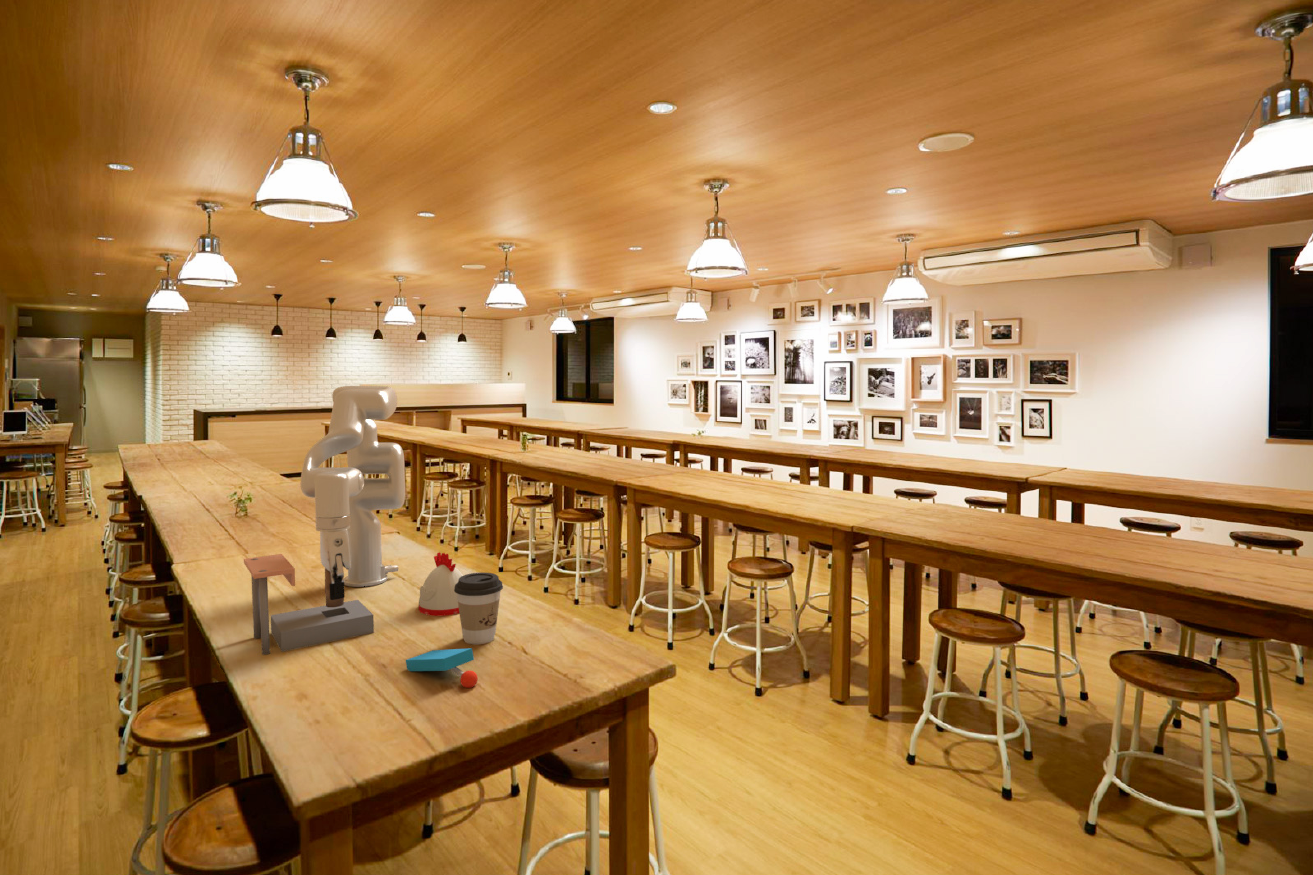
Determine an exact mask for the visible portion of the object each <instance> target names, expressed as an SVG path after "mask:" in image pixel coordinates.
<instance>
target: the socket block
mask: <svg viewBox="0 0 1313 875" xmlns="http://www.w3.org/2000/svg"><path fill="white" fill-rule="evenodd" d="M374 624H375V622H374V614H373V612H371V611H370V610H369V609H368V607H366V606H365V605H364V604H363V602H361V601H360V600H359V599H354V600H348V601H344V604H343V605H342V606H339V607H326V604H325V605H321V606H320V605H319V606H314V607H310V608H303V609H299V610H297V609H296V610H293V611H287V612H282V613H276V614H271V615H270V633H271V634H270V635H272V638H273V639H274V640H275V643H276V645H277V646H278V647H279V650H280V651H281V652H288V651H292V650H296V649H302V648H306V647H311V646H316V645H321V644H325V643H330V642H331V643H332V642H335V641H340V640H344V639H349V638H355V637H359V636H363V635H369V634H374V632H375V630H374V629H375V628H374Z"/></svg>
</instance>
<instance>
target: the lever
mask: <svg viewBox="0 0 1313 875" xmlns="http://www.w3.org/2000/svg"><path fill="white" fill-rule="evenodd" d="M473 652H474V651H473V648H469V647H468V648H455V649H454V648H453V649H449V648H448V649H432V650H430V651H428V652H425V653H422V654H421V653H420V654H419V655H416V656H413V657H411V658H407V659H405V665H406V670H407V671H409V672H436V671H437V672H439V671H441V672H442V671H443V672H445V671H448V670H449V671H451V672H452V673H453V674H455V675H456V676H458V677H459V678H460V684H461V686H463V688H466V689H470V688H473V687H475V686H476V684H477V683H478V679H479V677H478V675H477V673H476V672H475V671H473V670H470V669H469V670H466V671H463V670H462V669H460V668H459V666H462V665H464V664H466V663H469V662H472V661H475V656H474V653H473Z"/></svg>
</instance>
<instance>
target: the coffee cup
mask: <svg viewBox="0 0 1313 875" xmlns="http://www.w3.org/2000/svg"><path fill="white" fill-rule="evenodd" d="M499 577H500V576H498V575H497V574H495V573H491V572H483V571H482V572H473V573H467V574H463V576H461V577H460V578H459V581H458V583H457V584H455V589H454V591H455V592H456V593H457V600H458V607H459V613H458V614H459V618H460V626H461V634H462V638H463V641H464V642H465V643H466V644H467V645H476V646H477V645H484V644H488V643H490V642H492V641H494V640H495V636H496V632H497V623H498V614H499V607H500V598H501V591H502V590H503V589H504V586H503V582H502V581H501V580H500V578H499Z"/></svg>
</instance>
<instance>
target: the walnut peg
mask: <svg viewBox="0 0 1313 875" xmlns="http://www.w3.org/2000/svg"><path fill="white" fill-rule="evenodd" d="M333 569H334V570H337V569H336V568H333ZM335 574H336V573H334V576H335ZM330 583H331V577H330V571H328V570H327V569H325V568H324V589H325V590H324V591H325V594H324V595H325V605H326V607H339V606H342V605H343V604H344V602H345V601H344V600H345V599H344V598H345V597H344V598H341V599H335V600H331V599H330V585H329V584H330Z"/></svg>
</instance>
